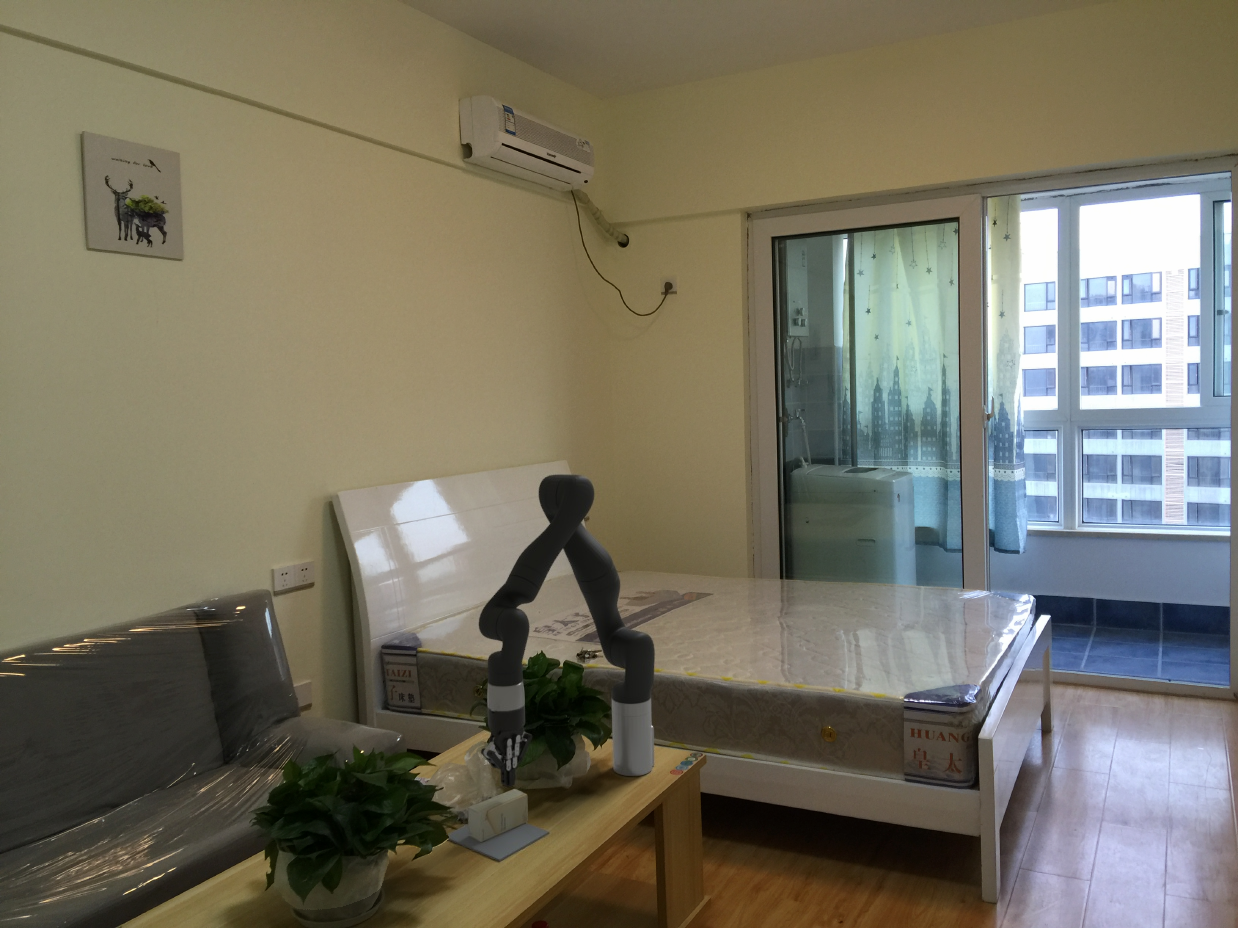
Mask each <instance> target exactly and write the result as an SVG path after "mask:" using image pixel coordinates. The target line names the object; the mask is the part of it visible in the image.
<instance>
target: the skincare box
mask: <svg viewBox="0 0 1238 928" xmlns="http://www.w3.org/2000/svg"><path fill="white" fill-rule="evenodd" d="M528 808H529V807H528V794H527V793H525V792H523V791H521V790H519V789H517V788H513V789H511V790H508V791H506V792H503V793H500V794H498V795H496V796H493V797H491V798H488V799H486V800H483V801H481V802H478V803H476V804H473V805H471V806H468V807H467V814H468V815H467V817H468V818H467V822H468V823H467V824H468V825H469V836H470V837H472V838H474V839H476V840H477V841H479V842H483V841H485V840H487V839H490V838H492V837H494V836H497V835H499V834H501V833H504V832H506V831H508V830H510V829H513V828H515V827H517V826H519V825H522V824H524V823H528V820H529V819H528V817H529V816H528V814H529V812H528V811H529V810H528Z"/></svg>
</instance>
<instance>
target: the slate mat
mask: <svg viewBox="0 0 1238 928" xmlns="http://www.w3.org/2000/svg"><path fill="white" fill-rule="evenodd" d="M447 834H448V835H449V840H448V841H449V842H452V843H455V844H457V845H460V846H463V847H465V848H466V849H469V850H472V851H474V852H476V853H478V854H481V855H484V856H486V857H488V858H491V859H493V860H495V861H498V862H502V861H503V860H505V859H507V858H508V857H511V856H512V855H514V854H517V853H518V852H519V851H521V850H523V849H525V848H526V847H528V846H530V845H532V844H534V843H535V842H537V841H539V840H541V839H543V838H544V837H546V836H548V835H550V831H548V830H546V829H544V828H541V827H538V826H535V825H532V824H530V823H528V822H526V823H524V824H522V825H519V826H517V827H515V828H513V829H510V830H508V831H506V832H504V833H501V834H499V835H497V836H494V837H492V838H490V839H487V840H485V841H483V842H479V841H477V840H476V839H474V838H472V837H470V836H469V825H468V823H467V824H465V825H463V826H461V827H459V828H458V829H456V830H454V831H452V832H449V833H447Z"/></svg>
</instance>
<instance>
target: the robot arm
mask: <svg viewBox="0 0 1238 928" xmlns="http://www.w3.org/2000/svg"><path fill="white" fill-rule="evenodd" d="M538 500H539V504H540V507H541V509H542V512H543V514H544V516H545V517H546V519H547V521H548V522H549V524H548V526H547V527H546V528H544V530H543V531H542V532H541V533H540V534H539V535H538V536H537V537H536V538H535V539H534V540H533V541H532V542H531V543H530V544H529V545H527V546H526V547H525V548H524V550H523V551H522V552H521V553H520V554H519V556H518V558H517V560H516V562H515V563H514V565H513V567H512V568H511V571H510V572H509V574H508V576H507V579H506V581H505V582H504V583H503V585H502V586H500V587H499V589H498V590H497V591H496V592H495V593H494V595H493V596H491V598H490V599H489V600H488V601H487V602H486V604H485V605H484V607H483V609H482V610H481V612H480V614H479V617H478V629H479V632H480V634H481V635H482V636H483V637H485V638H486V639H489V640H494V641H498V642H502V644H501V645H502V646H501V650H498V651H494V652H492V653H491V654H490V655H488V658H487V690H486V691H487V693H486V699H487V726H488V728H489V731H490V734H489V735H490V736H489V738H488V739H489V744H488V745H487V747H486V748H485V747H484V748H482V749H481V750H480V753H481V755H482V756H483V758H484V759H485V760H486V761H487V762H488V763H489V765H490V766H491V767H492V768H493V769H497V770H500V783H501V785H502V786H503V787H506V788H510V787H513V786H515V785H516V781H517V780H516V768H517V766H518V763H522V762H523V760H524V757H525V755H526V753H527V751H528V749H529V746H530V744H531V742H532V740H533V734H531V733H528V732H526V731H525V728H524V726H525V725H526V709H525V708H526V707H525V705H526V704H525V702H526V701H525V687H524V679H523V661H524V656H525V652H526V648H527V643H528V639H529V636H530V635H529V634H530V626H531V625H530V621H529V617H528V615H527V614H526V611H524V610H522V609H520V608H518V607H519V606H521V605H524V604H530V603H533V602H534V601H535V599H537V596H538V594H539V592H540V590H541V588H542V586H543V584H544V582H545V580H546V578H547V577H548V574H549V572H550V570H551V567H552V566H553V565H554V563H555V561H556V560H557V558H558V557H559V555H560V553H561V552H562V550H563V552H564V554H565V556H566V558H567V560H568V563H569V564H570V567H571V570H572V572H573V575H574V578H575V580H576V582H577V585H578V587H579V589H580V592H581V594H582V595H583V598H584V601H585V602H586V605H587V608H588V610H589V613H590V616H591V618H592V621H593V624H594V626H595V629H596V633H597V636H598V640H599V644H600V647H601V650H602V653H603V655H604V658H605V659H606V661H607V662H608V663H609V664H611V665H612V666H614V667H617V668H620V669H622V670H624V680H620V681H618V682H616V683H614V684H613V685H612V687H611V720H612V721H611V723H612V724H611V725H612V726H611V727H612V732H611V733H612V770H613V771H614V772H615V773H616V774H618V775H622V776H625V777H626V776H627V777H637V776H643V775H646V774H648V773H650V772H651V771H652V770H653V767H654V766H655V727H654V726H653V725H652V724H653V723H652V689H653V687H654V680H655V656H656V655H655V654H656V653H655V651H656V650H655V644H654V640H653V639H652V636H650V634H648V633H646V632H643V631H640V630H639V631H638V630H635V629H631V628H628V627H627V626H626V624H625V622H624V621H623V619H622V617H621V614H620V612H619V608H618V601H619V596H620V593H621V579H620V576H619V574H618V571H617V568H616V565H615V563H614V560H613V559H612V557H611V555H610V553H609V552H608V550H606V548H605V547H604V546H603V545H602V544H601V543H600V541H599V540H597V539H596V538H595V537H594V536H593V534H591V533H590V532H589V531H588V530H587V529H586V527H585V526H584V525H583V523H582V522H583V521H584V519H585V518H586V517H587V515H588V514H589V512H590V510H591V508H592V507H593V504H594V500H595V489H594V485H593V483H592V481H591V480H590V479H589V477H587V476H585V475H580V474H561V473H560V474H549V475H547V476H546V477H544V478H542V480H541V482H540V484H539V487H538Z"/></svg>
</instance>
